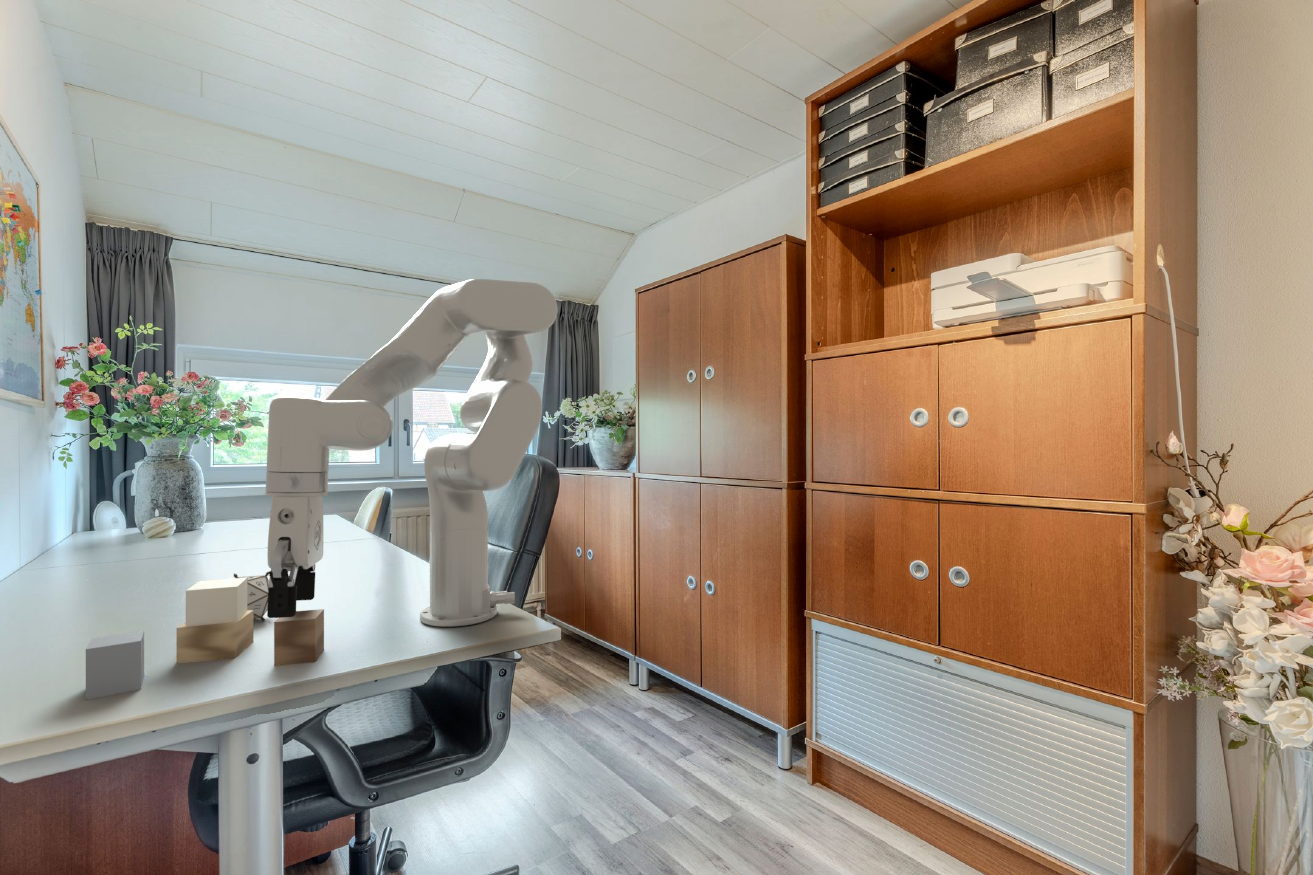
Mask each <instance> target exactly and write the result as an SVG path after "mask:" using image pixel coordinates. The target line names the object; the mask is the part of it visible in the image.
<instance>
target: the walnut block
mask: <svg viewBox="0 0 1313 875" xmlns="http://www.w3.org/2000/svg"><path fill="white" fill-rule="evenodd" d="M324 651H325V609H323V608H321V609H320V608H319V609H309V610H307V609H306V610H296V614H295V615H294V616H293V617H283V618H276V619H275V621H274V622H273V656H274V657H273V663H274V664H273V667H276V666H277V667H278V666H287V665H299V664H307V663H308V664H310V663H316V662H317V660H319V658H320V656H321V655H322V654H323V652H324Z"/></svg>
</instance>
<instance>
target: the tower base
mask: <svg viewBox="0 0 1313 875" xmlns="http://www.w3.org/2000/svg"><path fill="white" fill-rule="evenodd" d="M253 643H254V619H253V610H248V611H247V612H246V613H245V614H244V615H243V616H242V617H241V618H240V619H239V620H238V622H230V623H220V624H210V625H199V626H189V627H186V621H185V622H183V623H182V624H181V625H179V626H177V627H176V648H175V649H176V650H175V651H176V662H175V664H186V663H195V662H197V663H198V662H207V661H220V660H229V659H236V658H237V657H238V656H240V655H241V654H242V652H243V653H244V652H245V651H246V650H247V649H248V648H249V647H250V646H251V645H252V644H253Z"/></svg>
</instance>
